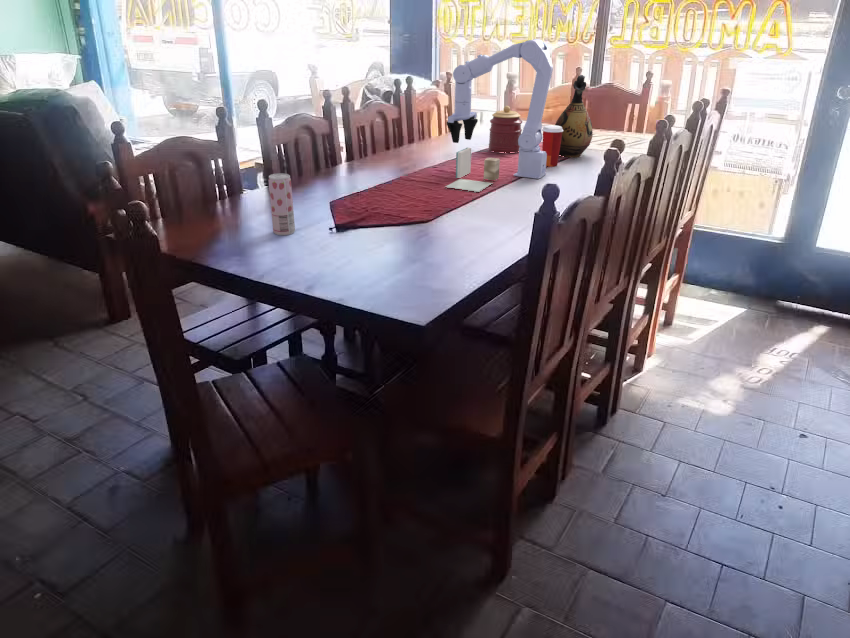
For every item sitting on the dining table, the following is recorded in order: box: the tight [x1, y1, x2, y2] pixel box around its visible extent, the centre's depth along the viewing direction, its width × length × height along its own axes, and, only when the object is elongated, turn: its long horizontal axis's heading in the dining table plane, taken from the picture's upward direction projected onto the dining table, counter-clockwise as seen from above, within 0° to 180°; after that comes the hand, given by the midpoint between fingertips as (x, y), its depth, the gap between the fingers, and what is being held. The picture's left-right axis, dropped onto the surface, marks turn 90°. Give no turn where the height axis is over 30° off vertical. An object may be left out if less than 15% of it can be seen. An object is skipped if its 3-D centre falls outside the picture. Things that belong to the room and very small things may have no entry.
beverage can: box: [268, 172, 296, 236], centre depth 172 cm, size 6×6×15 cm
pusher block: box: [483, 157, 501, 181], centre depth 226 cm, size 4×4×7 cm
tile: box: [455, 147, 472, 179], centre depth 230 cm, size 2×9×9 cm, turn 153°
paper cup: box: [541, 124, 563, 168], centre depth 245 cm, size 8×8×14 cm
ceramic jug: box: [554, 74, 594, 159], centre depth 258 cm, size 17×15×30 cm
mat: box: [444, 178, 494, 193], centre depth 219 cm, size 12×12×1 cm
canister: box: [488, 105, 523, 153], centre depth 267 cm, size 13×13×18 cm
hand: (461, 140), depth 238 cm, fingers open, 7 cm apart
